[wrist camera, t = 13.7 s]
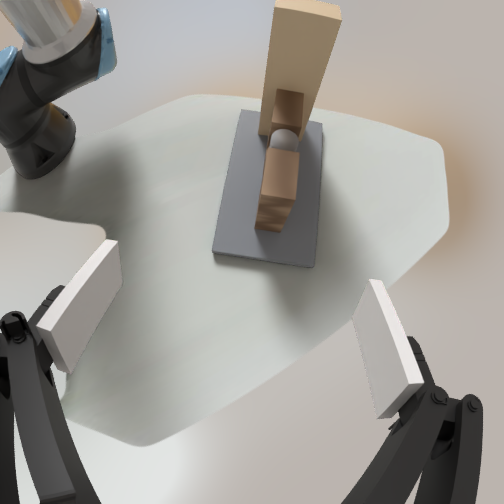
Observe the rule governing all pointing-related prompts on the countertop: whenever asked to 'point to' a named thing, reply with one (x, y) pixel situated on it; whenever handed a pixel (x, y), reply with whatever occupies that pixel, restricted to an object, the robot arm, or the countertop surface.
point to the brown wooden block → (278, 181)
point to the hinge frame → (256, 137)
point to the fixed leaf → (286, 113)
